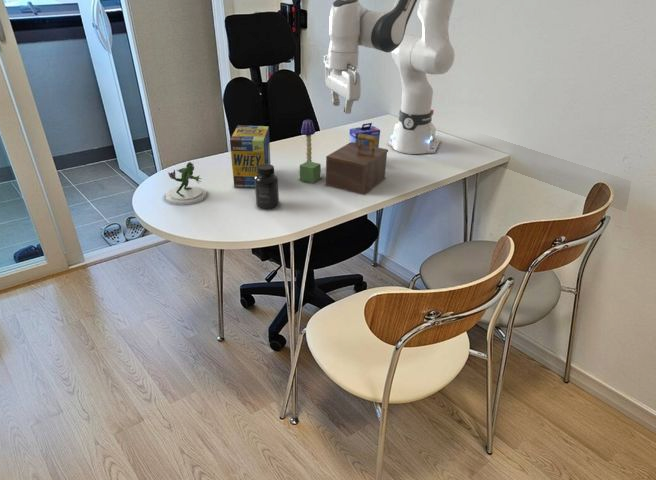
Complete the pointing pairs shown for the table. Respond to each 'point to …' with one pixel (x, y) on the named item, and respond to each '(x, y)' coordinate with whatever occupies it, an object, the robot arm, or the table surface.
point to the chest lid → (358, 152)
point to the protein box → (249, 153)
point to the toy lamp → (308, 136)
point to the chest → (355, 175)
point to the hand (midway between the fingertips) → (341, 109)
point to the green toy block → (310, 171)
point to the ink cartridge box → (365, 130)
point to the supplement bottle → (266, 187)
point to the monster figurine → (185, 188)
